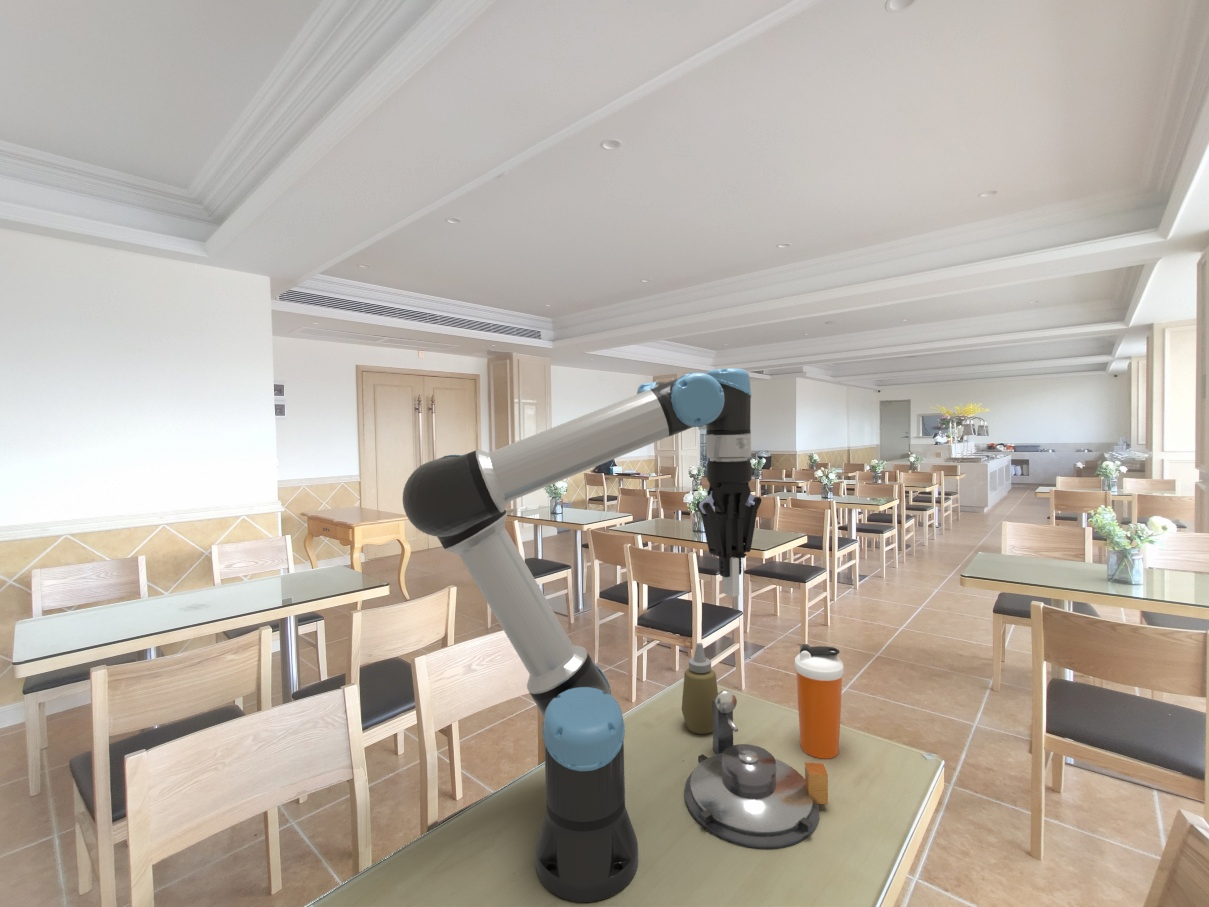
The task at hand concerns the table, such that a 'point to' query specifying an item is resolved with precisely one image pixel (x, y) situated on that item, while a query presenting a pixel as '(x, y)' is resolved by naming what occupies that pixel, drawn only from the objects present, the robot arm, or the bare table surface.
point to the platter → (759, 815)
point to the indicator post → (723, 720)
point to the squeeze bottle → (699, 693)
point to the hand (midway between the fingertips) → (730, 593)
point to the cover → (748, 771)
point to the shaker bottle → (819, 699)
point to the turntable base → (746, 839)
